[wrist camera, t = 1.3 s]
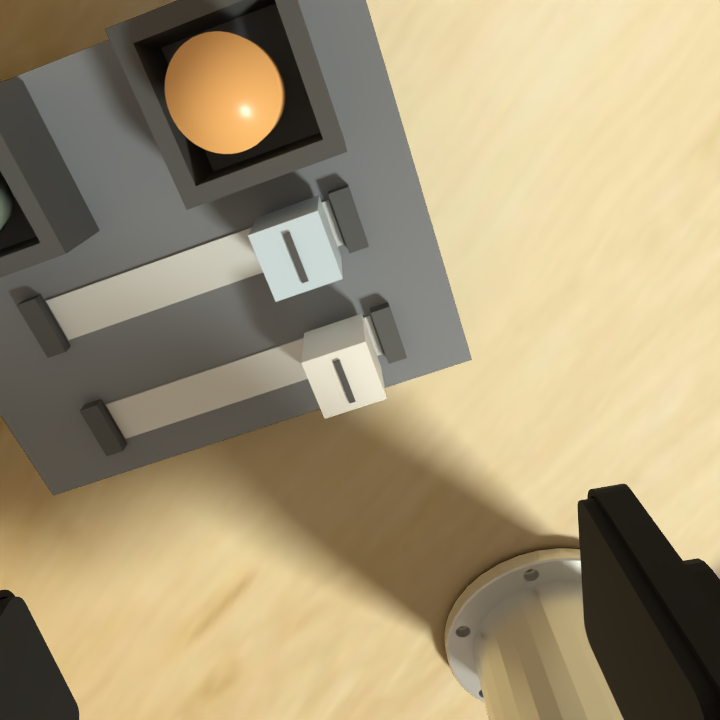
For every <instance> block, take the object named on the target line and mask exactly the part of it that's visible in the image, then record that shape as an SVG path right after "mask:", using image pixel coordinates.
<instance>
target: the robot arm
mask: <svg viewBox="0 0 720 720" xmlns="http://www.w3.org/2000/svg"><path fill="white" fill-rule="evenodd" d="M578 522H579V541H580V549H566V548H557V549H547V550H539V551H535V552H531V553H527V554H523V555H519V556H516V557H514V558H512V559H509V560H507V561H504V562H502V563H500V564H498V565H496V566H495V567H493V568H491V569H490V570H488V571H486V572H485V573H483V574H482V575H481V576H479V577H478V578H477V579H476V580H475V581H474V582H472V583H471V584H470V585H469V586H468V587H467V588H466V589H465V590H464V592H463V593H462V594H461V595H460V597H459V598H458V599H457V600H456V602H455V604H454V606H453V608H452V610H451V612H450V613H449V616H448V620H447V623H446V627H445V648H446V653H447V659H448V663H449V665H450V668H451V670H452V673H453V675H454V677H455V678H456V679H457V681H458V682H459V683H460V685H461V686H462V687H463V688H464V689H465V690H466V691H468V692H469V693H470V694H471V695H472V696H473V697H475V698H477V699H479V700H481V701H482V702H484V703H485V705H486V709H487V713H488V718H489V720H720V579H719V578H718V577H717V575H716V574H715V573H714V572H713V570H712V569H711V568H710V567H709V566H708V565H707V564H706V563H705V562H704V561H702V560H700V559H692V560H686V561H682V559H681V558H680V556H679V555H678V554H677V552H676V551H675V550H674V548H673V547H672V545H671V544H670V543H669V541H668V540H667V539H666V537H665V536H664V535H663V533H662V532H661V530H660V529H659V528H658V526H657V525H656V524H655V522H654V521H653V519H652V518H651V517H650V515H649V514H648V513H647V511H646V510H645V508H644V507H643V506H642V504H641V503H640V502H639V500H638V499H637V498H636V496H635V495H634V493H633V492H632V491H631V489H630V488H629V487H628V486H627V485H626V484H619V485H613V486H607V487H601V488H596V489H590V490H589V492H588V499H586V500H580V501H579V502H578ZM0 720H79V710H78V706H77V703H76V701H75V699H74V697H73V695H72V694H71V692H70V690H69V688H68V686H67V684H66V682H65V680H64V678H63V676H62V674H61V672H60V670H59V668H58V666H57V664H56V662H55V660H54V658H53V656H52V654H51V652H50V650H49V648H48V646H47V644H46V642H45V641H44V639H43V637H42V635H41V633H40V631H39V629H38V627H37V625H36V623H35V621H34V619H33V617H32V615H31V613H30V611H29V609H28V607H27V605H26V603H25V602H24V600H23V599H22V598H20V597H15V596H14V594H13V593H12V592H10V591H9V590H0Z"/></svg>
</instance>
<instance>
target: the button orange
mask: <svg viewBox="0 0 720 720" xmlns="http://www.w3.org/2000/svg"><path fill="white" fill-rule="evenodd" d="M165 97H166V102H167V107H168V109H169V112H170V115H171V117H172V119H173V121H174V122H175V124H176V125H177V127H178V129H179V130H180V131H181V132H182V133H183V134H184V135H185V136H186V137H187V138H188V139H189V140H190V141H191V142H193V143H194V144H196V145H197V146H199V147H201V148H203V149H205V150H208V151H211V152H215V153H220V154H233V153H239V152H243V151H246V150H248V149H250V148H252V147H253V146H255V145H257V144H258V143H259V142H260V141H261V140H263V139H264V138H265V137H266V136H267V135H268V134H269V133H270V132H271V131H272V130H273V129H274V128H275V126H276V125H277V123H278V122H279V120H280V118H281V116H282V114H283V111H284V107H285V101H286V88H285V82H284V78H283V75H282V72H281V70H280V68H279V66H278V64H277V63H276V61H275V60H274V59H273V57H272V56H271V55H270V54H269V53H268V52H267V51H266V50H265V49H264V48H262V47H261V46H259V45H258V44H256V43H254V42H252V41H250V40H248V39H245V38H243V37H241V36H238V35H236V34H232V33H229V32H222V31H213V32H206V33H203V34H199V35H197V36H195V37H193V38H191V39H189V40H188V41H187V42H185V43H184V44H183V45H182V46H181V47H180V48H179V49H178V50H177V52H176V53H175V54H174V56H173V58H172V59H171V61H170V64H169V66H168V69H167V73H166V78H165Z"/></svg>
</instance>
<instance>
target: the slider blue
mask: <svg viewBox="0 0 720 720" xmlns="http://www.w3.org/2000/svg"><path fill="white" fill-rule="evenodd" d="M248 237H249V239H250V242H251V244H252V247H253V249H254V251H255V254H256V256H257V258H258V261H259V263H260V266H261V268H262V270H263V273H264V275H265V278H266V280H267V282H268V285H269V287H270V290H271V292H272V294H273V297H274V299H275V301H276V302H277V301H280V300H283V299H286V298H289V297H292V296H295V295H297V294H300V293H303V292H306V291H309V290H312V289H315V288H318V287H321V286H324V285H327V284H330V283H332V282H335V281H338V280H341V279H343V276H342V260H341V255H340V252H339V249H338V246H337V244H336V241H335V238H334V235H333V232H332V230H331V227H330V224H329V221H328V219H327V216H326V213H325V210H324V208H323V205H322V202H321V199H320V197H319V195H318V196H316V197H313V198H310V199H307V200H304V201H302V202H299V203H296V204H293V205H290V206H288V207H285V208H282V209H279V210H276V211H274V212H271V213H268V214H265V215H262V216H260V217H257V218H256V220H255V222H254V224H253V226H252V228H251V230H250V232H249V234H248Z"/></svg>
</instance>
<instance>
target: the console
mask: <svg viewBox="0 0 720 720" xmlns="http://www.w3.org/2000/svg"><path fill="white" fill-rule="evenodd" d="M105 30H106V32H107V35H108V37H109V39H110V40H107V41H104V42H102V43H99V44H97V45H94V46H92V47H89V48H87V49H84V50H82V51H79V52H77V53H74V54H71V55H69V56H66V57H64V58H61V59H59V60H56V61H54V62H51V63H49V64H46V65H44V66H41V67H39V68H36V69H33V70H31V71H28V72H26V73H23V74H21V75H18V76H16V77H13V78H11V79H8V80H6V81H0V172H1V174H2V175H3V177H4V178H5V180H6V182H7V184H8V186H9V189H10V192H11V197H12V213H11V217H10V220H9V222H8V224H7V226H6V227H5V228H4V230H3V231H2V232H1V233H0V416H1V417H2V419H3V420H4V422H5V423H6V425H7V426H8V428H9V429H10V431H11V432H12V434H13V435H14V437H15V438H16V440H17V441H18V443H19V444H20V446H21V447H22V449H23V451H24V452H25V454H26V455H27V457H28V458H29V460H30V461H31V463H32V464H33V466H34V467H35V469H36V470H37V472H38V473H39V475H40V476H41V478H42V479H43V481H44V482H45V484H46V485H47V487H48V488H49V490H50V491H51V493H52V494H53V495H56V494H59V493H62V492H65V491H68V490H71V489H74V488H77V487H81V486H84V485H87V484H90V483H93V482H96V481H99V480H102V479H105V478H108V477H111V476H114V475H118V474H121V473H124V472H127V471H130V470H133V469H136V468H139V467H142V466H145V465H148V464H151V463H155V462H158V461H161V460H164V459H167V458H170V457H173V456H176V455H179V454H182V453H185V452H188V451H192V450H195V449H198V448H201V447H204V446H207V445H210V444H213V443H216V442H219V441H222V440H225V439H229V438H232V437H235V436H238V435H241V434H244V433H247V432H250V431H253V430H256V429H259V428H262V427H266V426H269V425H272V424H275V423H278V422H281V421H284V420H287V419H290V418H293V417H296V416H299V415H303V414H306V413H309V412H312V411H315V410H318V409H320V407H319V404H318V402H317V399H316V397H315V395H314V392H313V390H312V388H311V385H310V383H309V380H308V378H307V376H306V373H305V371H304V368H303V366H302V364H301V360H302V350H303V340H304V333H306V332H309V331H311V330H314V329H317V328H320V327H323V326H326V325H329V324H332V323H335V322H338V321H341V320H344V319H347V318H350V317H353V316H356V315H359V314H362V315H363V318H364V321H365V324H366V326H367V329H368V332H369V335H370V337H371V340H372V343H373V346H374V348H375V351H376V354H377V357H378V360H379V362H380V365H381V370H382V375H383V381H384V387H385V388H386V387H389V386H392V385H395V384H398V383H401V382H404V381H407V380H411V379H414V378H417V377H420V376H423V375H426V374H429V373H432V372H435V371H438V370H441V369H444V368H448V367H451V366H454V365H457V364H460V363H463V362H466V361H469V360H472V359H471V355H470V352H469V348H468V345H467V342H466V338H465V335H464V331H463V328H462V325H461V321H460V318H459V315H458V311H457V308H456V304H455V301H454V298H453V294H452V291H451V287H450V284H449V281H448V277H447V274H446V270H445V267H444V264H443V260H442V257H441V254H440V250H439V247H438V243H437V240H436V237H435V233H434V230H433V226H432V223H431V220H430V216H429V213H428V209H427V206H426V203H425V199H424V196H423V193H422V189H421V186H420V182H419V179H418V176H417V172H416V169H415V165H414V162H413V159H412V155H411V152H410V149H409V145H408V142H407V138H406V135H405V132H404V128H403V125H402V121H401V118H400V115H399V111H398V108H397V104H396V101H395V98H394V94H393V91H392V88H391V84H390V81H389V77H388V74H387V71H386V67H385V64H384V60H383V57H382V54H381V50H380V47H379V44H378V40H377V37H376V33H375V30H374V27H373V23H372V20H371V16H370V13H369V10H368V6H367V3H366V0H177V1H175V2H172V3H170V4H167V5H165V6H162V7H160V8H157V9H155V10H152V11H150V12H147V13H145V14H142V15H140V16H137V17H134V18H132V19H129V20H127V21H124V22H122V23H119V24H117V25H114V26H112V27H109V28H107V29H105ZM213 31H222V32H229V33H232V34H236V35H238V36H241V37H243V38H245V39H248V40H250V41H252V42H254V43H256V44H258V45H259V46H261V47H262V48H264V49H265V50H266V51H267V52H268V53H269V54H270V55H271V56H272V57H273V59H274V60H275V61H276V63H277V64H278V66H279V68H280V70H281V72H282V75H283V78H284V82H285V88H286V101H285V107H284V111H283V114H282V116H281V118H280V120H279V122H278V123H277V125H276V126H275V128H274V129H273V130H272V131H271V132H270V133H269V134H268V135H267V136H266V137H265V138H264V139H263V140H261V141H260V142H259V143H258V144H257V145H255V146H253V147H252V148H250V149H248V150H246V151H243V152H239V153H233V154H220V153H215V152H211V151H208V150H205V149H203V148H201V147H199V146H197V145H196V144H194V143H193V142H191V141H190V140H189V139H188V138H187V137H186V136H185V135H184V134H183V133H182V132H181V131H180V130H179V129H178V127H177V125H176V124H175V122H174V121H173V119H172V117H171V115H170V112H169V109H168V107H167V102H166V97H165V78H166V73H167V69H168V66H169V64H170V61H171V59H172V58H173V56H174V54H175V53H176V52H177V50H178V49H179V48H180V47H181V46H182V45H183V44H184V43H185V42H187V41H188V40H189V39H191V38H193V37H195V36H197V35H199V34H203V33H206V32H213ZM318 195H319V197H320V199H321V202H322V205H323V208H324V210H325V213H326V216H327V219H328V221H329V224H330V227H331V230H332V232H333V235H334V238H335V241H336V244H337V246H338V249H339V252H340V255H341V260H342V276H343V279H341V280H338V281H335V282H332V283H330V284H327V285H324V286H321V287H318V288H315V289H312V290H309V291H306V292H303V293H300V294H297V295H295V296H292V297H289V298H286V299H283V300H280V301H277V302H276V301H275V299H274V297H273V294H272V292H271V290H270V287H269V285H268V282H267V280H266V278H265V275H264V273H263V270H262V268H261V266H260V263H259V261H258V258H257V256H256V254H255V251H254V249H253V247H252V244H251V242H250V239H249V237H248V234H249V232H250V230H251V228H252V226H253V224H254V222H255V220H256V218H257V217H260V216H262V215H265V214H268V213H271V212H274V211H276V210H279V209H282V208H285V207H288V206H290V205H293V204H296V203H299V202H302V201H304V200H307V199H310V198H313V197H316V196H318Z"/></svg>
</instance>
